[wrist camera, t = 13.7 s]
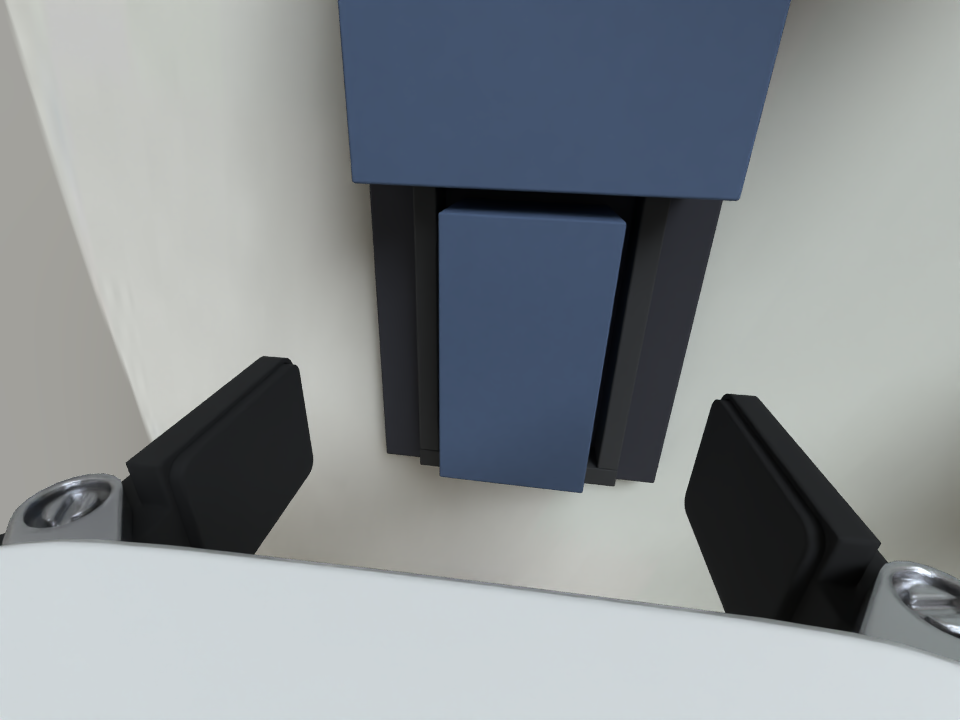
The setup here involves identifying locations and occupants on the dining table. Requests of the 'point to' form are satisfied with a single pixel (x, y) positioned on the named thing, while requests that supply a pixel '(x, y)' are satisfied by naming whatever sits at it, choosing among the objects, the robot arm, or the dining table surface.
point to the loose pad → (523, 337)
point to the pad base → (555, 170)
